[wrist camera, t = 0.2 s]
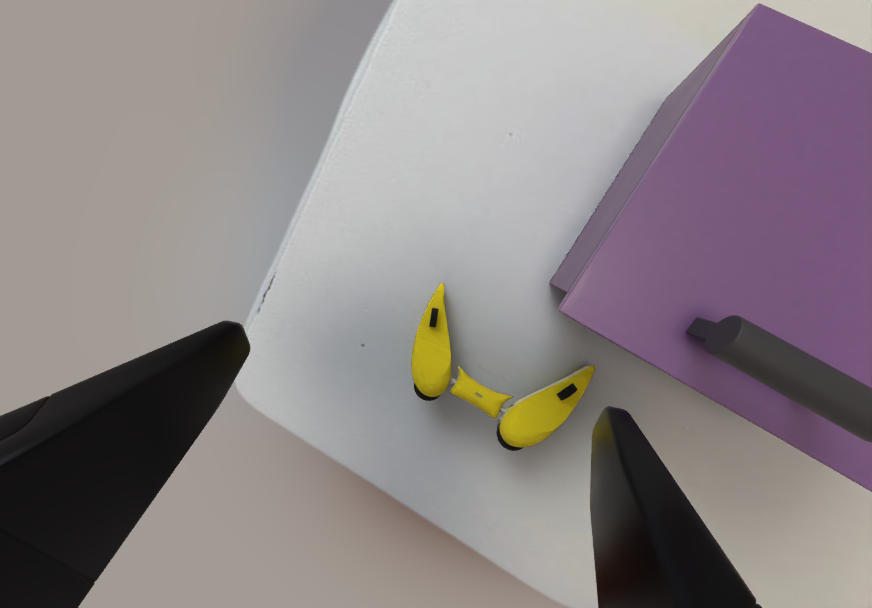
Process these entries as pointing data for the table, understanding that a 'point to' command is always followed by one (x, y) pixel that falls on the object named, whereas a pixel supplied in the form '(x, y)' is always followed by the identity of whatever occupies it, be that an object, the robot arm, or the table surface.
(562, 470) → the table surface
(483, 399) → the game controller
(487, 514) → the table surface
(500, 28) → the table surface
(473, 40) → the table surface
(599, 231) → the box
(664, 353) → the lid
